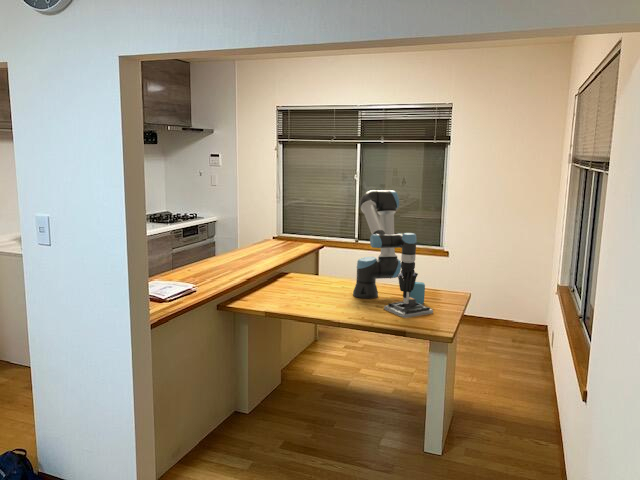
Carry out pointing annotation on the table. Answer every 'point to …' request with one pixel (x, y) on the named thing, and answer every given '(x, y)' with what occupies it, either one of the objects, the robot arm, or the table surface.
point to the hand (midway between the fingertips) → (406, 303)
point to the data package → (418, 292)
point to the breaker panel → (407, 309)
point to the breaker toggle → (410, 302)
